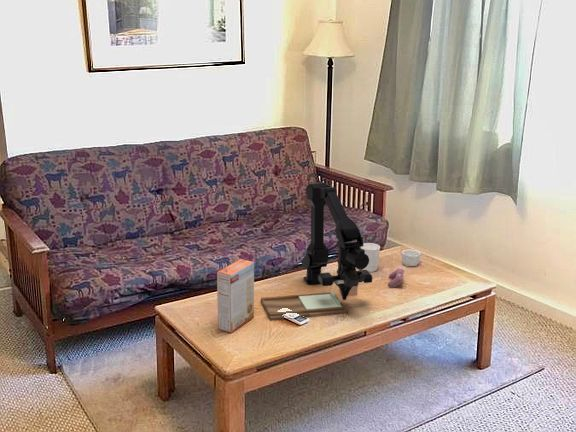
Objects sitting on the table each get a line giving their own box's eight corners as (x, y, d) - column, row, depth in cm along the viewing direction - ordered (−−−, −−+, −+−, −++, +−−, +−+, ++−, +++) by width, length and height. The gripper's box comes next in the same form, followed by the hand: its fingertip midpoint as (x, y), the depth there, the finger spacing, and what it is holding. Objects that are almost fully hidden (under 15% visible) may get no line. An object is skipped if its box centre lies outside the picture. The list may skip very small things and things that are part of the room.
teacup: (409, 269, 282) (410, 257, 281) (396, 263, 288) (397, 251, 287) (427, 264, 288) (428, 252, 286) (413, 259, 294) (415, 247, 292)
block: (340, 290, 260) (340, 277, 258) (352, 289, 261) (353, 276, 260) (344, 296, 256) (345, 282, 254) (357, 295, 257) (357, 281, 255)
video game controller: (396, 292, 264) (406, 278, 262) (386, 286, 264) (396, 272, 262) (397, 282, 273) (407, 268, 271) (388, 276, 273) (397, 262, 271)
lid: (298, 298, 250) (298, 292, 249) (332, 295, 253) (332, 289, 252) (306, 311, 240) (306, 305, 239) (341, 308, 243) (342, 302, 242)
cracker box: (240, 313, 239) (240, 257, 232) (254, 318, 236) (255, 261, 230) (216, 329, 227) (216, 270, 221) (231, 334, 224) (231, 275, 218)
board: (260, 300, 249) (260, 296, 249) (334, 295, 256) (334, 290, 255) (270, 320, 235) (270, 315, 234) (348, 313, 241) (348, 309, 241)
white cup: (381, 268, 283) (383, 245, 280) (373, 274, 276) (375, 251, 273) (364, 264, 287) (366, 241, 284) (355, 269, 280) (357, 246, 277)
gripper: (328, 269, 233) (326, 311, 238) (379, 266, 237) (376, 307, 242) (318, 257, 243) (316, 298, 248) (368, 254, 248) (365, 294, 252)
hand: (344, 299), depth 247 cm, fingers closed
